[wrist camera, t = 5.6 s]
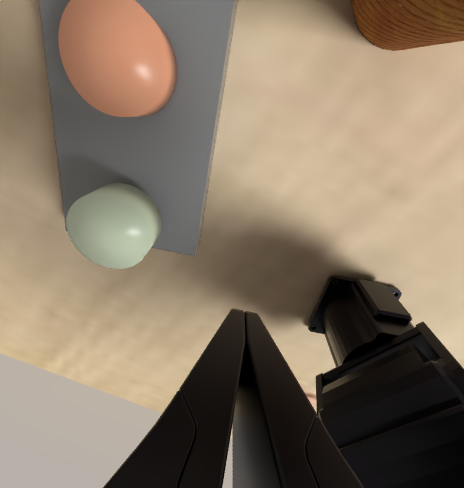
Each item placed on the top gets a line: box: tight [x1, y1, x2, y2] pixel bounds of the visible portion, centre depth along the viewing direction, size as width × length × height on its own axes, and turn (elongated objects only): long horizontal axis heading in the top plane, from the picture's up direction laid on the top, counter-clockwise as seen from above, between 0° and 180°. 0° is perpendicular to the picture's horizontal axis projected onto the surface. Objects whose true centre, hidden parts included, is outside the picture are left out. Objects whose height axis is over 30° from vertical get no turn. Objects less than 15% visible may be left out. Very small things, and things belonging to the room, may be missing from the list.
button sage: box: [66, 183, 162, 269], centre depth 16 cm, size 5×5×2 cm
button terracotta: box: [58, 0, 177, 117], centre depth 13 cm, size 5×5×2 cm
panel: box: [39, 0, 238, 256], centre depth 15 cm, size 23×10×2 cm, turn 169°
